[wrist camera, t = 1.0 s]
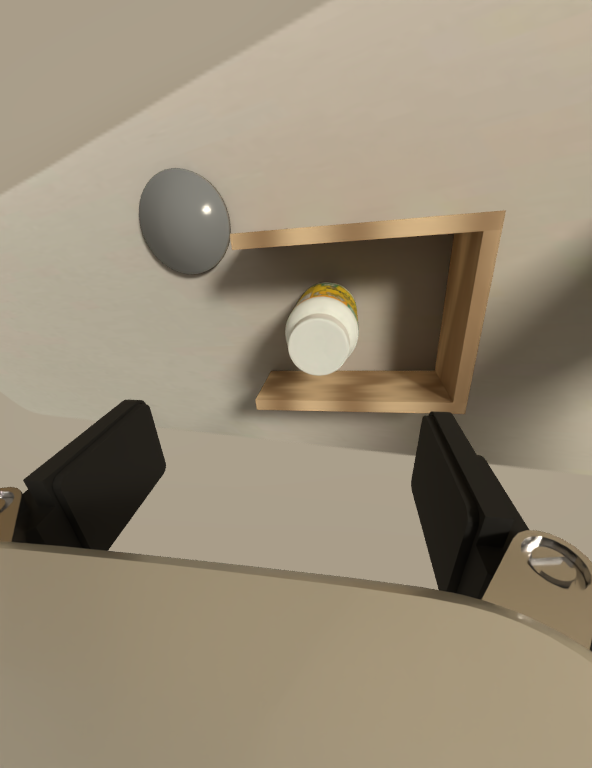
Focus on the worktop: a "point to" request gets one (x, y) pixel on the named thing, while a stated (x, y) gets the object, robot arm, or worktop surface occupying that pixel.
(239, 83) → the worktop surface
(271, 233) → the wooden u-frame
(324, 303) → the supplement bottle
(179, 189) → the slate coaster
